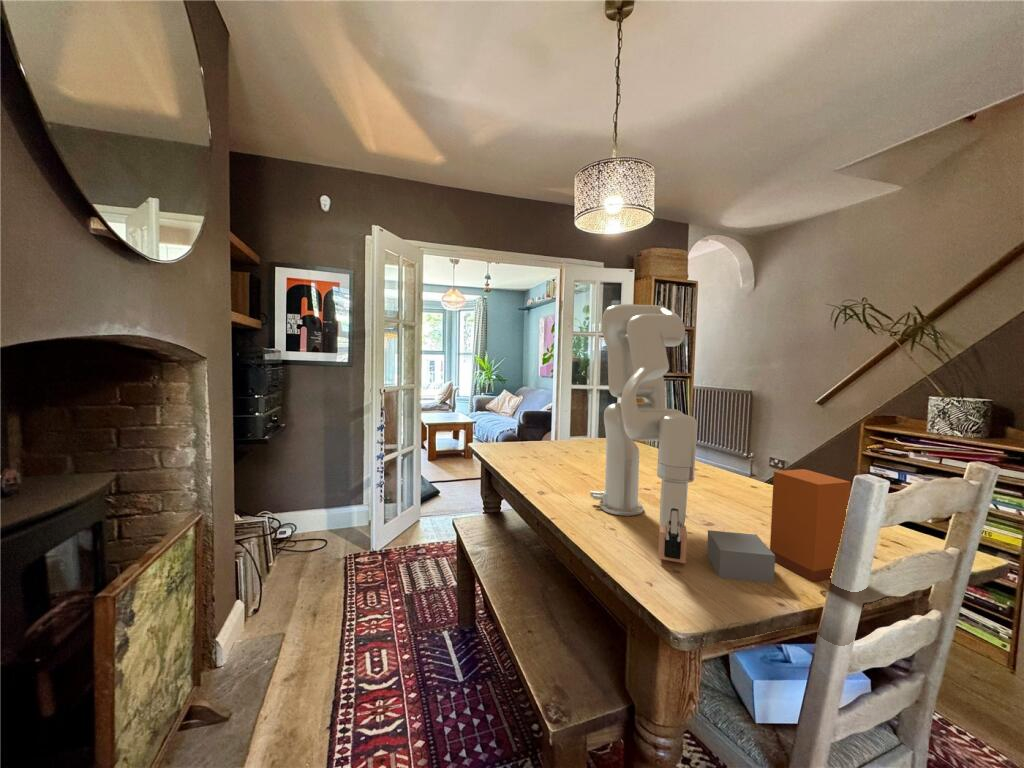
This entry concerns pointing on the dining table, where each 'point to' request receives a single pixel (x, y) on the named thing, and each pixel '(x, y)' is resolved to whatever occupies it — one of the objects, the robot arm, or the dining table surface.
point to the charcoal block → (740, 556)
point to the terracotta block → (662, 543)
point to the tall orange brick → (807, 521)
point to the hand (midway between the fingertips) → (671, 550)
